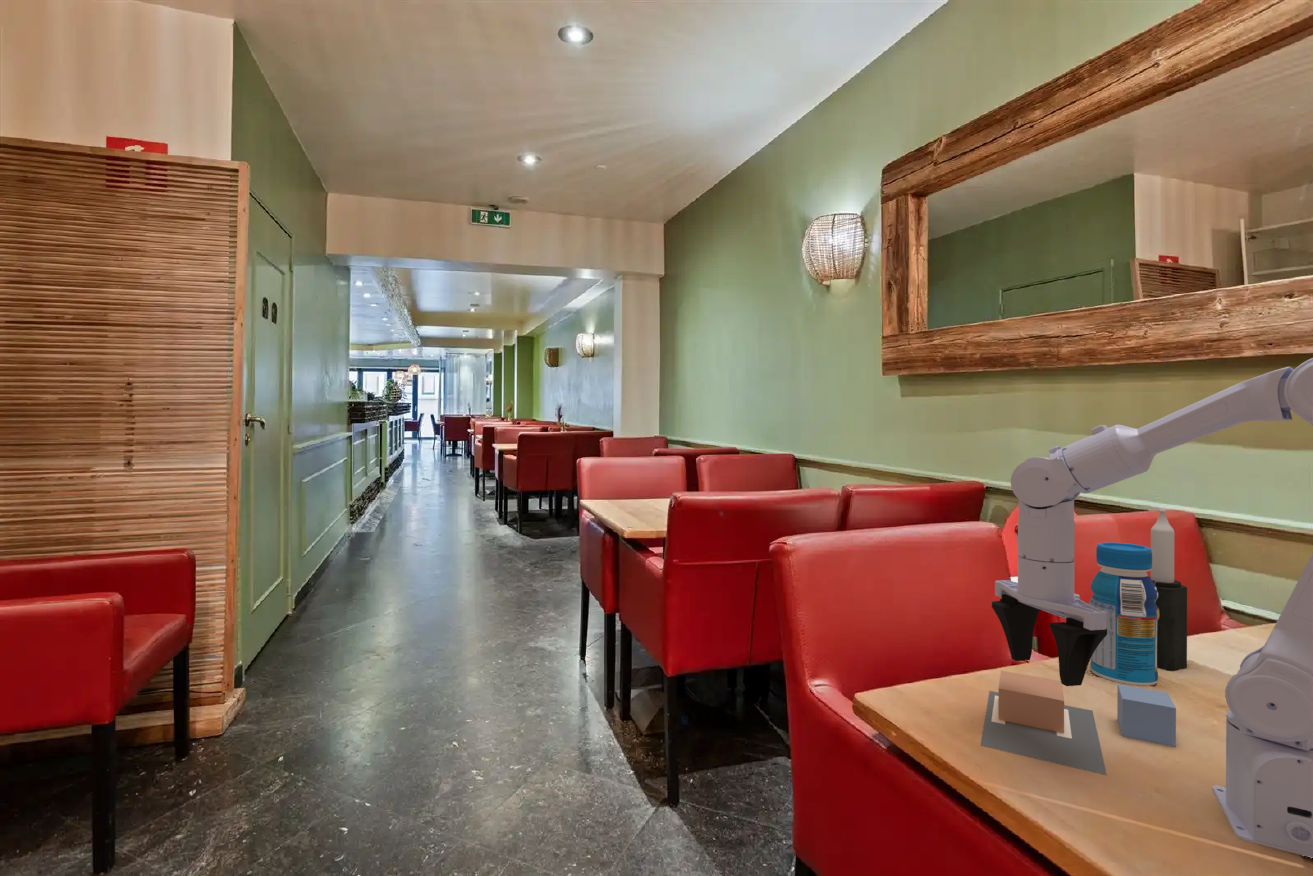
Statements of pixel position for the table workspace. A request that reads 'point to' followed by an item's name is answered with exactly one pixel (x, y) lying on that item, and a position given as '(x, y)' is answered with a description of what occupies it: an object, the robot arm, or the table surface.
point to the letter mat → (1047, 738)
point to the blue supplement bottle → (1126, 614)
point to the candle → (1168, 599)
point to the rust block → (1031, 701)
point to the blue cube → (1146, 715)
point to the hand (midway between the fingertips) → (1044, 671)
